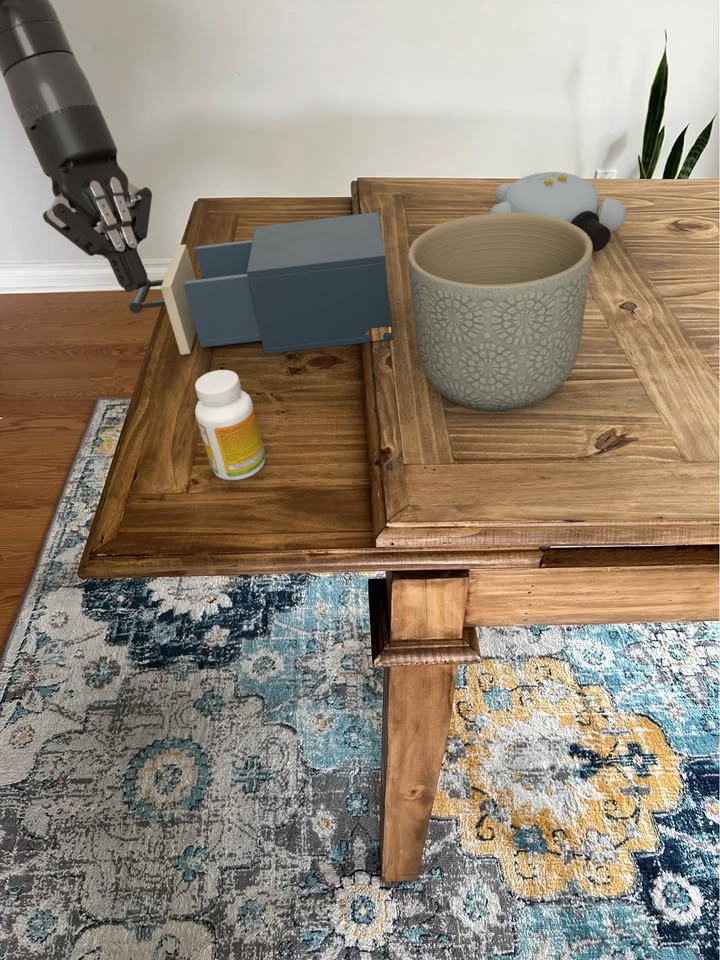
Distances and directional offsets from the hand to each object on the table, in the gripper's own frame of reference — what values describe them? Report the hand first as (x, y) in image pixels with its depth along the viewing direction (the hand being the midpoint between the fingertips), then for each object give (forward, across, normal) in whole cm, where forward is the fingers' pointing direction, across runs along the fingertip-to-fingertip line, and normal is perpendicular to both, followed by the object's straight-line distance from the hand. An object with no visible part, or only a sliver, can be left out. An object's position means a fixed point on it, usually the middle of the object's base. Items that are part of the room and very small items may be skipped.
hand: (137, 288), depth 76 cm
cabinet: (+11, -22, +5) cm, 26 cm away
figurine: (+13, -54, +25) cm, 61 cm away
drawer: (+7, -15, -5) cm, 18 cm away
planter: (+22, -16, +28) cm, 39 cm away
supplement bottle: (+19, +5, +10) cm, 22 cm away
